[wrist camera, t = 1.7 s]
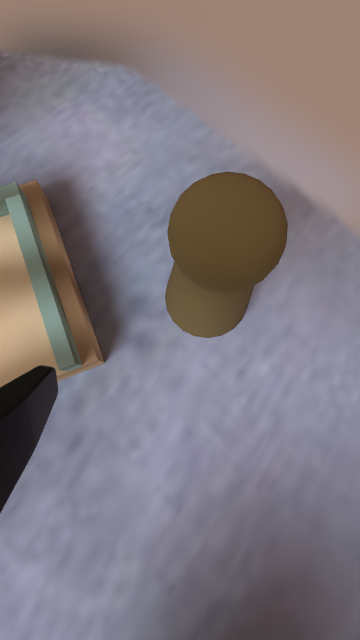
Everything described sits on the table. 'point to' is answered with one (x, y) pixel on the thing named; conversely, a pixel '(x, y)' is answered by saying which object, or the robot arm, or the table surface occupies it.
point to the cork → (221, 250)
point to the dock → (39, 292)
